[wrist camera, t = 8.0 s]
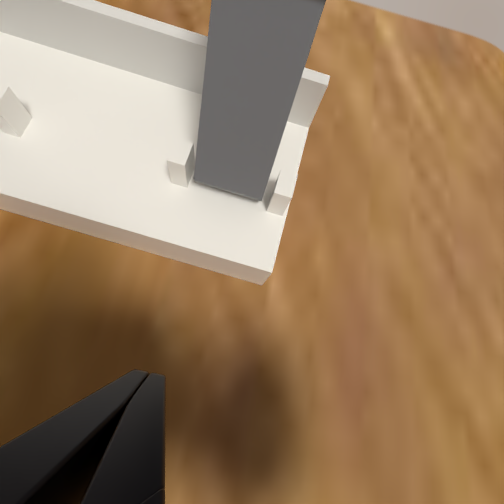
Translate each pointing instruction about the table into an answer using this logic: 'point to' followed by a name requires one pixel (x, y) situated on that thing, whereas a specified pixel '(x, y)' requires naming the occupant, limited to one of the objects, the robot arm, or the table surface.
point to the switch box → (130, 137)
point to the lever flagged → (250, 88)
